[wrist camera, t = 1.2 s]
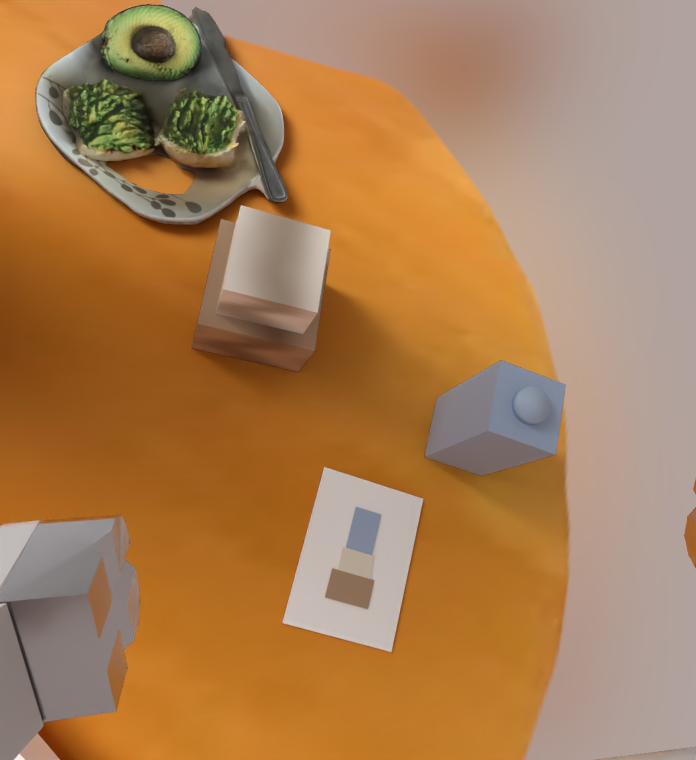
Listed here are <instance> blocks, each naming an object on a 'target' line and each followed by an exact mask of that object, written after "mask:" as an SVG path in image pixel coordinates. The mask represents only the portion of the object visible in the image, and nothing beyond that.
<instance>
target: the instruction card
mask: <svg viewBox="0 0 696 760" xmlns="http://www.w3.org/2000/svg"><path fill="white" fill-rule="evenodd" d="M422 503H423V498H420V497H416V496H413V495H410V494H407V493H404V492H401V491H398V490H395V489H392V488H388V487H385V486H382V485H379V484H376V483H373V482H370V481H367V480H364V479H360V478H357V477H354V476H351V475H348V474H345V473H342V472H339V471H336V470H332V469H329V468H326V467H324V469H323V473H322V476H321V480H320V484H319V488H318V491H317V495H316V499H315V502H314V506H313V510H312V514H311V517H310V521H309V525H308V528H307V532H306V536H305V540H304V543H303V547H302V551H301V555H300V558H299V562H298V566H297V569H296V573H295V577H294V581H293V584H292V588H291V592H290V595H289V599H288V603H287V607H286V610H285V614H284V618H283V621H282V623H284V624H288V625H292V626H295V627H299V628H303V629H307V630H310V631H314V632H318V633H322V634H325V635H329V636H333V637H337V638H340V639H344V640H348V641H352V642H355V643H359V644H363V645H367V646H370V647H374V648H378V649H382V650H385V651H389V652H392V647H393V642H394V637H395V633H396V628H397V623H398V618H399V613H400V609H401V604H402V599H403V594H404V589H405V585H406V580H407V575H408V570H409V565H410V561H411V556H412V551H413V546H414V541H415V537H416V532H417V527H418V522H419V518H420V513H421V508H422Z"/></svg>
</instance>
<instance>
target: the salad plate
mask: <svg viewBox="0 0 696 760" xmlns="http://www.w3.org/2000/svg"><path fill="white" fill-rule="evenodd" d="M35 97H36V109H37V114H38V118H39V122H40V124H41V127H42V129H43V130H44V132H45V134H46V135H47V137H48V138H49V140H50V141H51V143H52V144H53V145H54V147H55V148H56V149H57V150H58V152H59V153H60V154H61V155H62V156H63V157H64V158H65V159H66V160H67V161H69V162H70V163H72V164H74V165H76V166H78V167H79V168H80V169H82V170H83V171H84V172H85V173H86V174H87V175H89V176H90V177H91V178H92V179H93V180H94V181H95V182H96V183H97V184H99V185H100V186H101V187H102V188H103V189H104V190H105V191H106V192H108V193H109V194H110V195H112V196H113V197H115V198H116V199H117V200H119V201H120V202H122V203H123V204H125V205H126V206H128V207H129V208H130V209H131V210H132V211H134V212H135V213H136V214H138V215H139V216H142V217H145V218H147V219H151V220H154V221H157V222H160V223H164V224H189V225H195V224H199V223H201V222H203V221H205V220H207V219H209V218H210V217H212V216H213V215H215V214H216V213H218V212H219V211H221V210H222V209H224V208H225V207H226V206H228V205H230V204H231V203H232V202H233V201H234V200H235V199H236V198H238V197H239V196H240V195H242V194H244V193H246V192H247V191H249V190H252V189H258V190H260V191H261V192H262V193H263V194H264V195H265V196H266V198H267V199H268V200H269V201H270V202H272V203H283V202H285V201H286V200H287V197H288V196H287V190H286V187H285V185H284V183H283V180H282V178H281V176H280V174H279V172H278V170H277V168H276V166H275V163H276V161H277V159H278V156H279V154H280V152H281V150H282V147H283V142H284V122H283V115H282V111H281V109H280V106H279V104H278V103H277V101H276V100H275V99H274V98H273V97H272V96H271V94H270V93H269V92H268V91H267V90H266V89H265V88H264V87H263V86H262V85H261V84H260V83H259V82H258V81H257V80H255V78H253V77H252V76H251V75H250V74H249V73H248V72H247V71H246V70H245V69H244V68H242V67H241V66H240V65H239V64H238V63H237V62H235V61H234V60H233V59H231V57H230V55H229V52H228V51H227V50H226V47H225V40H224V38H223V35H222V33H221V32H220V30H219V28H218V26H217V25H216V23H215V21H214V20H213V18H212V17H211V16H210V14H209V13H207V12H205V11H202V10H200V9H199V8H197V7H195V8H194V9H193V10H192V15H191V16H190V17H189V18H187V17H186V16H184V15H183V14H182V13H180V12H178V11H177V10H174V9H172V8H170V7H167V6H164V5H150V4H147V5H139V6H135V7H131V8H128V9H126V10H124V11H122V12H120V13H118V14H117V15H115V16H114V17H113V18H111V19H110V20H108V21H107V23H106V25H105V29H104V31H103V32H102V33H101V34H99V35H98V36H96V37H95V38H93V39H91V40H90V41H88V42H87V43H86V44H84V45H83V46H80V47H78V48H76V49H75V50H74V51H72V52H71V53H69V54H67V55H65V56H64V57H62V58H61V59H59V60H58V61H56V62H55V63H54V64H53V65H51V66H50V67H49V68H47V69H46V70H45V71H44V72H43V73H42V75H41V76H40V78H39V80H38V83H37V87H36V92H35ZM154 154H158V155H161V156H164V157H167V158H170V159H172V160H173V161H175V162H177V163H179V165H180V167H181V168H183V169H186V170H190V171H193V172H194V174H195V179H194V181H193V183H192V185H191V186H190V187H189V189H188V190H187V191H186V192H185V193H184V194H164V193H160V192H156V191H151V190H147V189H144V188H142V187H139V186H137V185H136V184H134V183H131V182H129V181H128V180H126V179H125V178H123V177H122V176H121V175H119V174H118V173H116V172H115V171H114V170H113V169H111V168H110V167H109V166H108V165H107V164H106V162H107V161H117V162H119V161H123V160H128V159H134V158H138V157H142V156H146V155H154Z"/></svg>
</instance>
